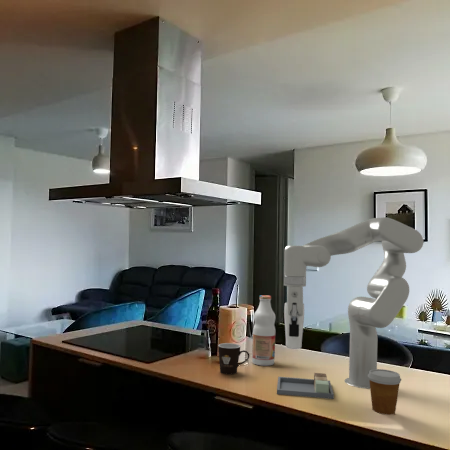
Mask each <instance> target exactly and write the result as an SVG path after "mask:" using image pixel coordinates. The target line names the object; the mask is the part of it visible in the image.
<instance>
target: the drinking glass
mask: <svg viewBox="0 0 450 450" xmlns="http://www.w3.org/2000/svg"><path fill="white" fill-rule="evenodd" d="M297 312H298V310H297V303H296V315H297ZM283 313H284V315H283V316H284V331H285V332H284V333H285V347H286V348H287V349H291V350H299V349H302V345H303V344H302V342H303V333H304V321H305V303H303V315H302V316H301V315H299V313H298V325H299V336H298V337H292V336H289V324H290V315H288V304H287V301H286V302H285V303H284V310H283ZM292 314H293V303H292V310H291V315H292Z"/></svg>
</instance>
